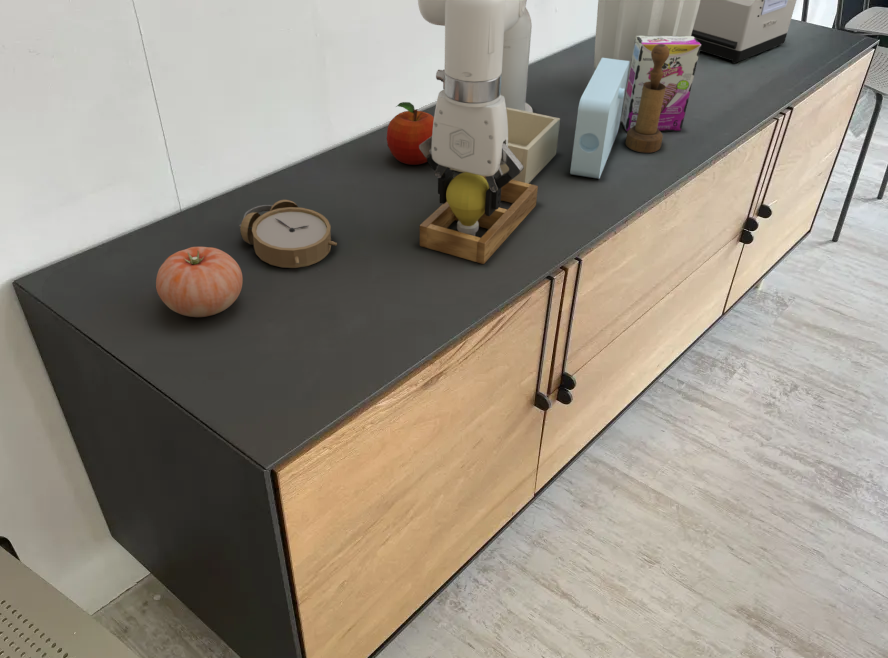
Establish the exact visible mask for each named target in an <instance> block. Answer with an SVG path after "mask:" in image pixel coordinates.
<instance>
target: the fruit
mask: <svg viewBox="0 0 888 658" xmlns="http://www.w3.org/2000/svg"><path fill="white" fill-rule="evenodd" d="M396 107H400V108H403V109H404V111H402V112H399V113H398V114H396V115H395V116H394V117H393V118H392V119H391V120H390V121H389V123H388V126H387V130H386V142H387V148H388V150H389V151H390V153H391V155H392V157H394V158H395V159H396V160H397V161H399V162H400V163H402V164H405V165H410V166H418V165H423V164H426V163H428V162H427V158H425V156H424V155H423V153H422V152H421V150H420V149H419V145H420V144H421V143H423V142H424V141H425V140H427V139H428V138H429V137H431V136H432V131H433V121H434V115H432V114H430V113H428V112H426V111H422V110H418V109H415V105H414V104H413V103H411V102H410V101H402V102H400V103H398V104H397V105H396V106H395V108H396Z"/></svg>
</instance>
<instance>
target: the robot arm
mask: <svg viewBox="0 0 888 658" xmlns="http://www.w3.org/2000/svg"><path fill="white" fill-rule="evenodd" d="M527 1H528V0H417V5H418V9H419V12H420V15H421V17H422V18H423V19H424V20H425V21H426V22H428V23H429V24H431V25H435V26H444V69H437V71H436V73H435V79H436V80H437V81H440V82H441V83H442V90H440V91H439V92H438V95H437V97H436V103H435V109H434V114H433V117H434V121H433V131H432V136H431V137H429V138H428V139H427V140H425V141H424V142H423V143H421V144H420V145H419V149H420V150H421V152H422V153H423V155H424V156H425V158H427V162H426V163H427V164H428V165H429V166H430V167H431V169H432V170H433V172H434V176H435V178H437V194H438V195H439V204H441V205H442V204H444V203H446V202H447V199H446V191H447V188H448V186H449V183H450V182H451V180H452V179H453V178H454V177H455V175H454V170H450V168H452V169H456V170H460V171H464V172H468V173H472V174H476V175H481V176H485V178H486V180H487V183H488V185H489V189H488V190H487V191H486V198H485V214H486V216H490V215H491V214H492V213H493V212H494V211H495V210H497V209H498V208H500V206H501V201H502V200H501V188H502V187H503V186H504V185H506V184H507V183H509V182H510V181H511V180H512V179H513V178H515V177H516V176H517V175H518V174H520V173H521V171H522V170H523V169H524V167H523V165H522V164H521V163H520V161H519V160H518V159H517V158H516V156H515V155H514V154H513V153H512V151H511V150H510V149H509V148H508V121H507V111H506V107H508V108H513V109H518V110H522V111H527V112H532V113H534V110H533V108H532V106H531V105H530V104H529V103H527V102H526V100H527V87H528V76H529V63H530V53H531V38H532V28H533V27H532V26H533V25H532V17H531V15H530V12H529V10H528V9H527V7H526V6H527V3H528V2H527ZM503 164H506V165H507V166H508V167H509V171H507V172H506V173H504V174H503V173H502V170H501V168H500V165H503Z"/></svg>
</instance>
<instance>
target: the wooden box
mask: <svg viewBox="0 0 888 658" xmlns="http://www.w3.org/2000/svg"><path fill="white" fill-rule="evenodd" d="M506 111H507V121H508V148H509V149H510V150H511V151H512V153H513V154H514V155H515V156H516V158H517V159H518V160H519V161H520V163H521V164H522V165H523V167H524V169H523V170H522V171H521V173H520V174H518V175H517V176H516V177H515V178H513V179H512V180H516V181H520V182H524V183H528V184H531V182H532V181H533V180H534V179H535V178H536V177H537V176H538V174H539V173H540V172H541V171H542V170H543V169H544V168H545V167H546V166H547V165H548V164H549V163H550V162H551V161H552V160H553V158H555V156H556V155H557V150H558V143H559V142H558V141H559V131H560V123H561V122H560V121H561V118H559V117H554V116H551V115H545V114H541V113H536V112H533V113H532V112H527V111H522V110H518V109H513V108H508V107H506ZM500 168H501V170H502V173H503V174H504V173H506V172H507V171H509V167H508V166H507V165H506V164H503V165H500ZM450 171H453V172H454V171H455V172H459V173H464V171H460V170H456V169H452V168H450Z"/></svg>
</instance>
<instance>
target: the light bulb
mask: <svg viewBox="0 0 888 658" xmlns="http://www.w3.org/2000/svg"><path fill="white" fill-rule="evenodd" d="M488 189H489V185H488V183H487V180H486V179H485V178H484V177H483V176H481V175H476V174H472V173H468V172H464V173H463V172H460V173H459V174H457V175H456V176H454V178H453V179H452V180H451V182H450V183H449V186H448V188H447V191H446V199H447V202H448V204H449V206H450V208H451V210H452V212H453V213H454V215H455V216H456V217H457V218H458V220H459V221H457V223H456V229H457V231H458V232H462V233H465V234H469V235H473V236H476V234H477V232H478V231H479V228H480V227H479V223H478V219H479V218H480V217H481V216H482V215H483V214H484V212H485V198H486V191H487V190H488Z"/></svg>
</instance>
